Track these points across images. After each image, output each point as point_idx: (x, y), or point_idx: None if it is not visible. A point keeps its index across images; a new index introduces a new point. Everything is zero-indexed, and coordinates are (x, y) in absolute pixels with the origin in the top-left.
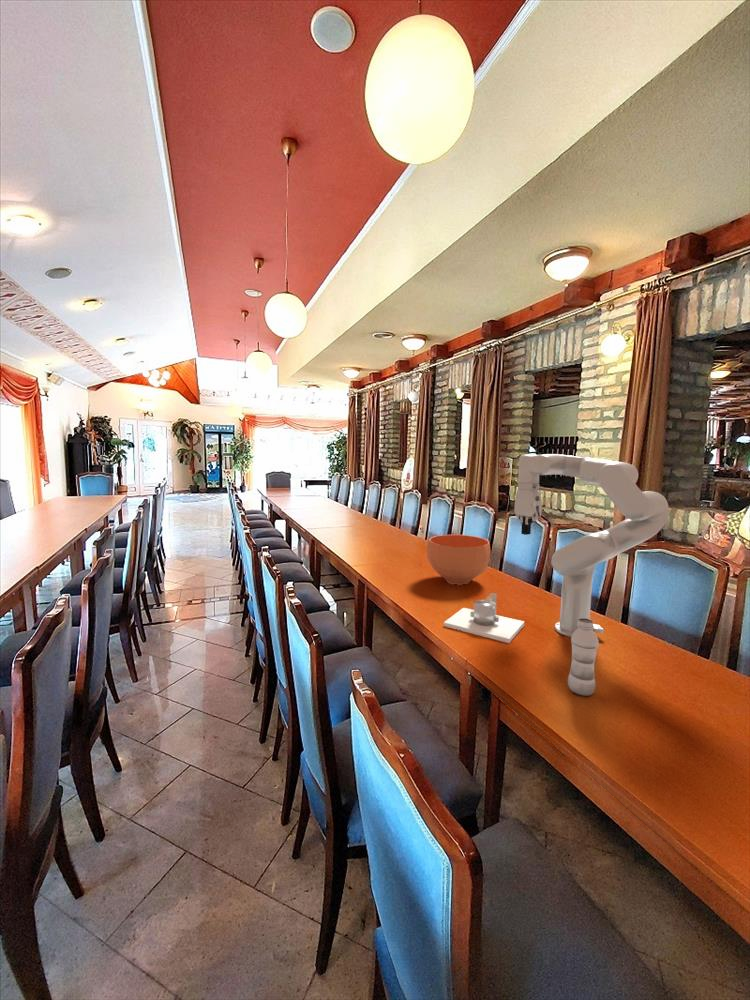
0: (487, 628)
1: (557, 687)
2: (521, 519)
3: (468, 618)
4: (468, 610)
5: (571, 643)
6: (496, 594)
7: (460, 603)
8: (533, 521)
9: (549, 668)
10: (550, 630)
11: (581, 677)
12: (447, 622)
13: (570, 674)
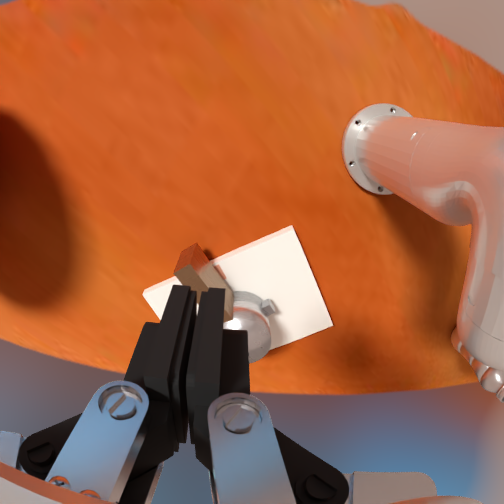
0: (272, 328)
1: (438, 345)
2: (132, 493)
3: None
4: (163, 297)
5: (479, 381)
6: (192, 266)
7: (96, 260)
8: (318, 459)
9: (417, 322)
10: (348, 192)
11: None
12: None
13: (460, 353)
